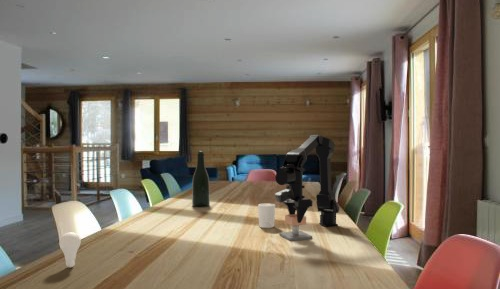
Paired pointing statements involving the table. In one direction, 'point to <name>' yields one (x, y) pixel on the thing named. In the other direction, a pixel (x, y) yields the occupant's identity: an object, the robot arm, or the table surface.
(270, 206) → the white cup
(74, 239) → the lightbulb
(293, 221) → the ring
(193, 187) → the dark green wine bottle
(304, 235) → the post plate
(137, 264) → the table surface
